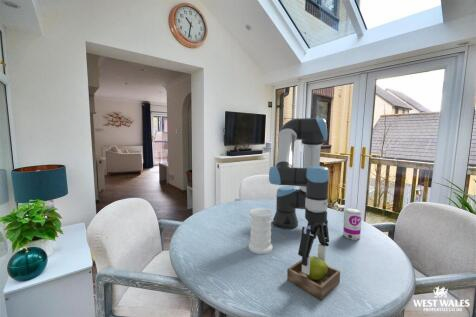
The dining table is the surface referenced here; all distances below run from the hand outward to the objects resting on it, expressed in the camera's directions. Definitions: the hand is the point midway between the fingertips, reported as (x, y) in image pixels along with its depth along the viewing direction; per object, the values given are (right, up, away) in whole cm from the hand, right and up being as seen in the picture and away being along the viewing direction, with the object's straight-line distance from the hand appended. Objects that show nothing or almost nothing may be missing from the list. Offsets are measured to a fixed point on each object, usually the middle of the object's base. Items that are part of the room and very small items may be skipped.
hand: (313, 266), depth 81 cm
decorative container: (-17, -3, +25) cm, 31 cm away
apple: (0, -5, +1) cm, 5 cm away
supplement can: (+33, -2, +37) cm, 50 cm away
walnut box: (0, -6, +1) cm, 6 cm away
